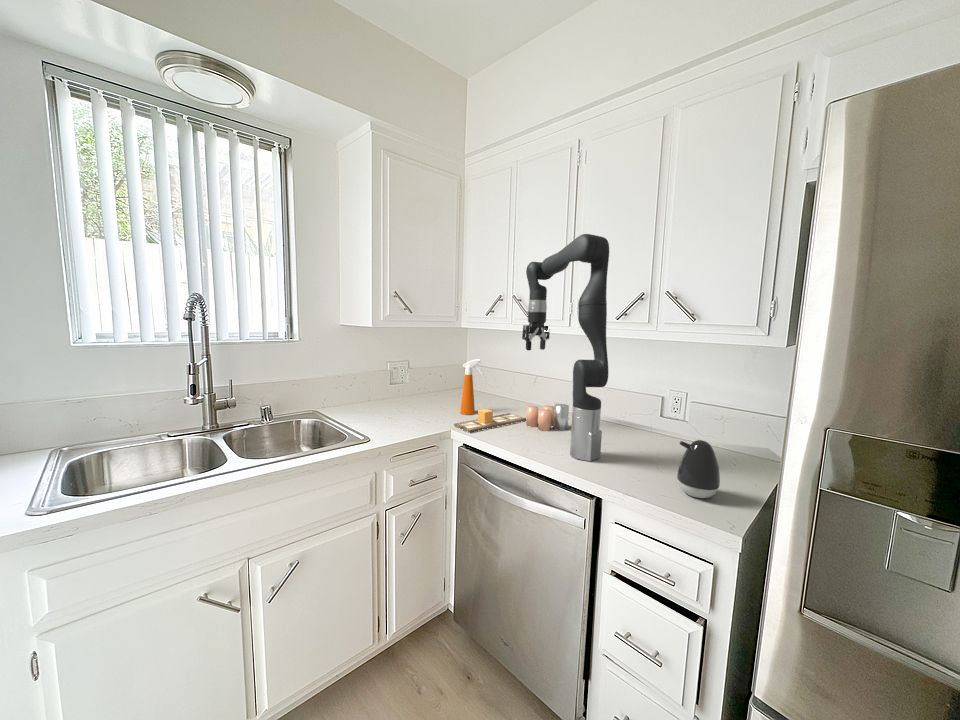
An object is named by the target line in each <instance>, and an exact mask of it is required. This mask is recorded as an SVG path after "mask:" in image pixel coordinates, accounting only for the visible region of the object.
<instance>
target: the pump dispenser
mask: <svg viewBox="0 0 960 720" xmlns="http://www.w3.org/2000/svg"><path fill="white" fill-rule="evenodd" d="M679 445H680V446H682V447H684V448H685V449H686V450H685V451H684V453H683V455H682V457H681V460H680V462H679V465H678V470H677V473H676V478H677V480H678V485H679V487H680V489H681V490H682V491H683V492H684V493H685V494H686V495H689V496H690V497H693V498H696V499H709V498H711V497H713V496H714V495H715V494H716V493H717V491H718V490H719V488H720V486H721V476H720V475H721V474H720V473H721V471H720V466H719V462H718V459H717V455H716V452H715V450H714V448H713V446H712V445H711V444H710V442H707V441H706V440H702V439H697V440H694V441H692V442H691V443H687V442H685V441H684V440H683V441H682V440H680V441H679Z"/></svg>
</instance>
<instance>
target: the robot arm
mask: <svg viewBox="0 0 960 720" xmlns="http://www.w3.org/2000/svg"><path fill="white" fill-rule="evenodd" d="M609 260H610V243H609V240H608V239H607V238H606V237H604V236H600V235H596V234H590V233H582V234H580V235H579V236H577V237H576V238H574V239H573V240H572V241H570V242H569V243H568V244H567V245H566V246H564V247H563V248H562V249H561V250H560V251H558V252H556V253H554V254H552V255H550V256H548V257H546V258H544V259H543V260H542V262H541V261H531V262H529V263H528V264H527V267H526V268H525V269H526V270H525V271H526V272H525V274H526V279H527V284H528V287H529V289H528V290H529V296H528V297H529V299H528V300H529V301H528V306H527V307H528V308H527V309H528V312H527V322H528V324H523V326H522V336H521V338H522V340H524V341H525V349H526V351H532V340H533V338H535V337H536V336H537V337H538V338H539V339H540V340H539V349H540V350H543V351H545V349H546V344H547V343H546V341H547V340H549V339H550V331H549V332H544V330H546V331H547V330H548V326H544V325H545V323H547V309H548V307H547V294H548V289H547V287H546V286H545V285H542V284H540V282H539V281H547V280H550V279H551V278H552V277H553V276H554V275H557V274H558V273H561V272H564V271H565V270H566V269H567V268H568V266H570V265H569V264H570V263H572V262H581V263H585V264H586V263H587V264H590V278H589V281H588V283H587V285H586V287H585V288H584V290H583V292H582V293H581V294H580V297H579V299H578V304H577V308H578V309H577V310H578V312H577V313H578V315H577V318H578V319H577V320H578V324H579V326H580V328H581V329H582V331H583V332H584V334H585V336H586V337H587V339H588V341H589V342H590V345H591V348H592V350H593V359H577V360H575V362H574V365H573V366H572V367H573V368H572V413H571V429H570V447H569V449H570V450H569V455H570V456H571V458H574V459H576V460H580V461H586V462H587V461H588V462H593V461H595V460H597V459H600V458H601V453H602V452H601V450H602V438H603V437H602V435H603V430H602V429H600V427H601V413H602V400H601V399H600V398H598V397H596V396H593V395H590V394H589V393H588V392H587V388H604V387H605V386H607V384H608V380H609V361H608V349H607V348H608V346H607V315H608V313H607V312H608V311H607V309H608V307H607V306H608V303H607V286H608V269H609Z"/></svg>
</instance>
